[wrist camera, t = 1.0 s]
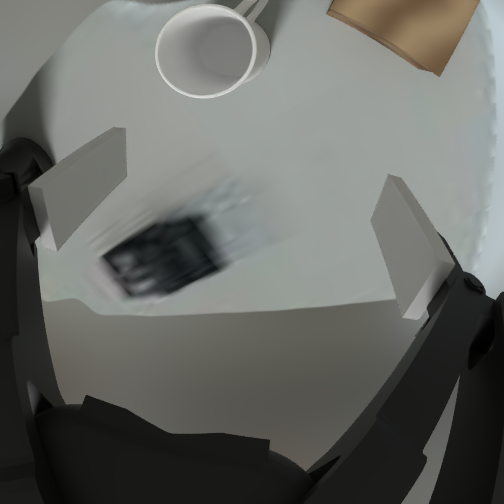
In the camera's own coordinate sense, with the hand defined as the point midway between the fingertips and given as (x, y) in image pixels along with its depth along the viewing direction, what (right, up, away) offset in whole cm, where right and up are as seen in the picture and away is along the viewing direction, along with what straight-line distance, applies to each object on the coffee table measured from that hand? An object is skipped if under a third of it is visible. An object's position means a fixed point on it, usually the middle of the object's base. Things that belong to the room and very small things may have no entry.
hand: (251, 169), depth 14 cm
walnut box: (+16, +24, +8) cm, 29 cm away
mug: (-1, +19, +14) cm, 24 cm away
